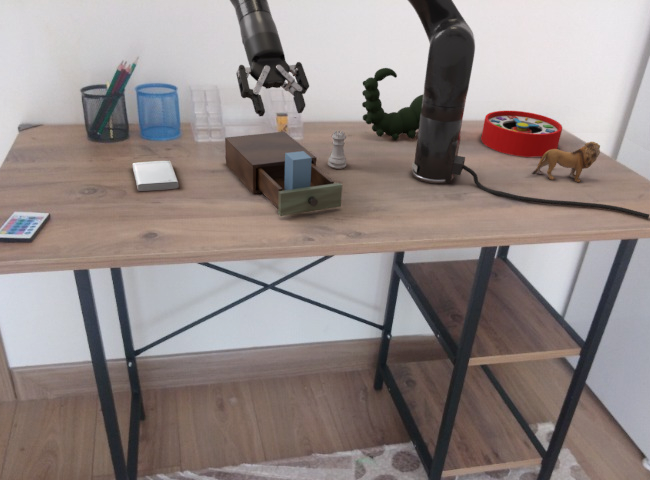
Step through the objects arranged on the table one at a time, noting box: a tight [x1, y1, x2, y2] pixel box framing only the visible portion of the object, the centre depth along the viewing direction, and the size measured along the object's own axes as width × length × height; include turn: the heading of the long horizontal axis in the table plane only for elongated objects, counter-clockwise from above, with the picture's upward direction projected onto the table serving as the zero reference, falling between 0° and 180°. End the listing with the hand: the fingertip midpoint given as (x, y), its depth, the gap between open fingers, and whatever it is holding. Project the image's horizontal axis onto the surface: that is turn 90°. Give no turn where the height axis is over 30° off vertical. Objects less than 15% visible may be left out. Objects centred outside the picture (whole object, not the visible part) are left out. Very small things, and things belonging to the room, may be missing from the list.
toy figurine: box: [361, 67, 423, 141], centre depth 167 cm, size 9×19×25 cm
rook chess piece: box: [327, 130, 347, 170], centre depth 149 cm, size 4×4×8 cm
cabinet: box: [224, 131, 317, 195], centre depth 142 cm, size 17×14×6 cm
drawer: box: [256, 163, 343, 217], centre depth 132 cm, size 18×13×5 cm
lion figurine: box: [531, 141, 601, 183], centre depth 151 cm, size 15×5×9 cm, turn 92°
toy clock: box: [480, 110, 563, 158], centre depth 171 cm, size 20×6×20 cm
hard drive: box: [132, 160, 179, 192], centre depth 138 cm, size 2×8×12 cm
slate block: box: [284, 151, 312, 190], centre depth 130 cm, size 4×4×8 cm
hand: (282, 112), depth 131 cm, fingers open, 8 cm apart
